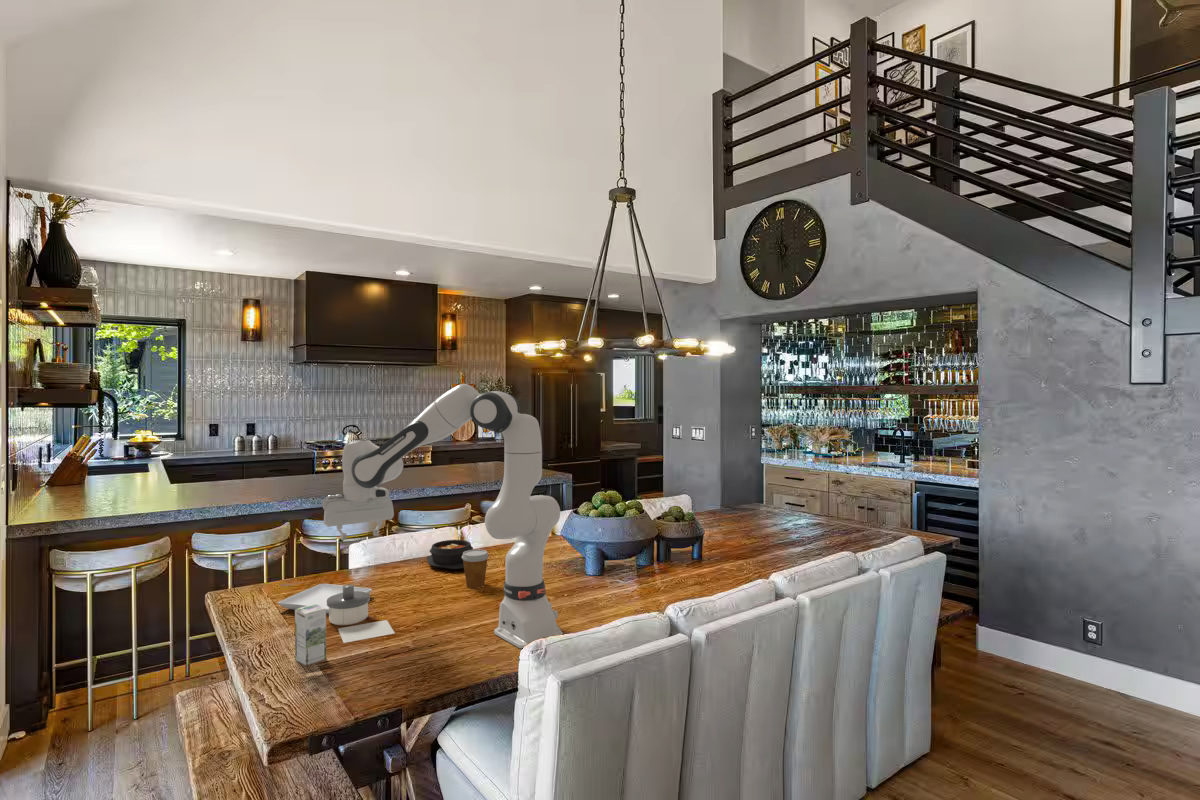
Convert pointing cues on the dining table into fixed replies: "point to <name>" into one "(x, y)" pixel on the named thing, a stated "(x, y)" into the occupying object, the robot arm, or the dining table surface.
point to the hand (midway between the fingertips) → (360, 537)
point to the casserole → (448, 554)
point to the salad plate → (316, 596)
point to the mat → (365, 631)
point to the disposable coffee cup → (475, 567)
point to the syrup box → (310, 634)
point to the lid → (348, 598)
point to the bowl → (348, 615)
